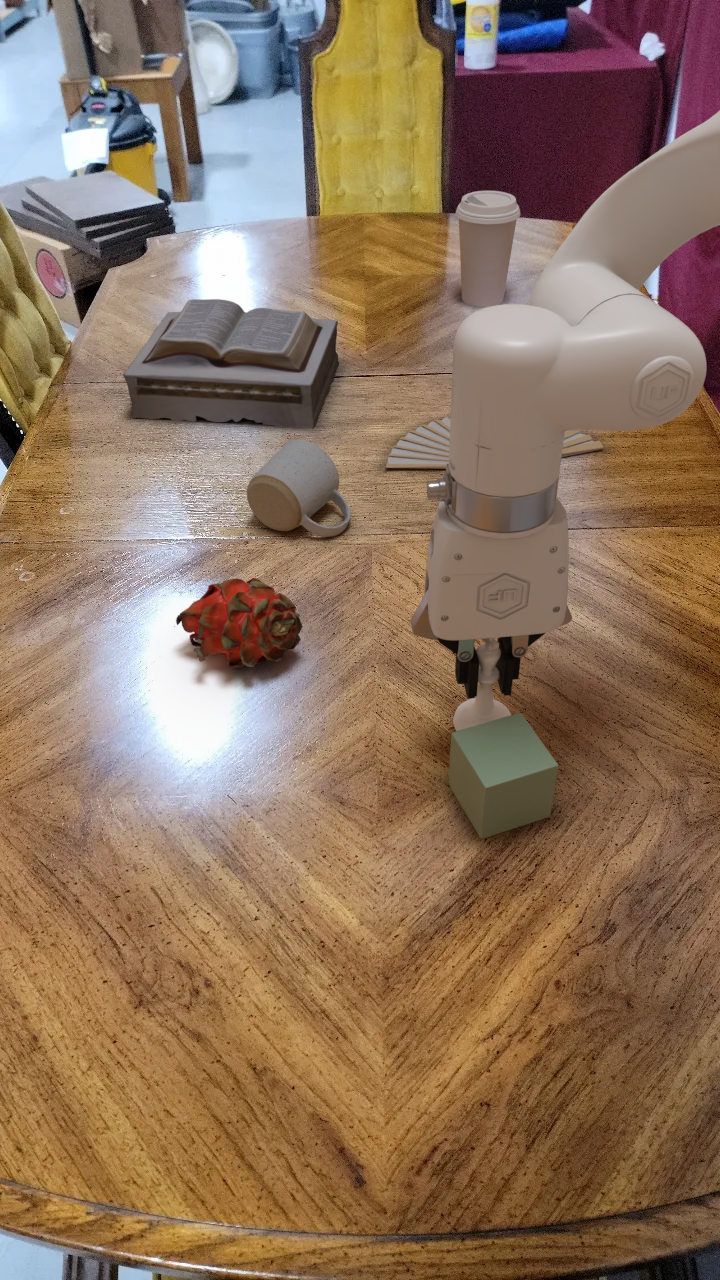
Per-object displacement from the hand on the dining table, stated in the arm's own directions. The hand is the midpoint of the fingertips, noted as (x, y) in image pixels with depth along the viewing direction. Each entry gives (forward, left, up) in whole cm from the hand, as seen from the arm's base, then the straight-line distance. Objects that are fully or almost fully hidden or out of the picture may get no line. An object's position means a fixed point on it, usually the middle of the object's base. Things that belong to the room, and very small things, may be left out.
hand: (485, 683), depth 80 cm
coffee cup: (-18, -92, -6) cm, 94 cm away
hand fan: (-10, -47, -6) cm, 49 cm away
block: (0, +8, -6) cm, 9 cm away
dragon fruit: (+20, -12, -6) cm, 24 cm away
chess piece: (0, 0, -5) cm, 5 cm away
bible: (+20, -66, -6) cm, 70 cm away
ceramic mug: (+13, -34, -6) cm, 37 cm away
